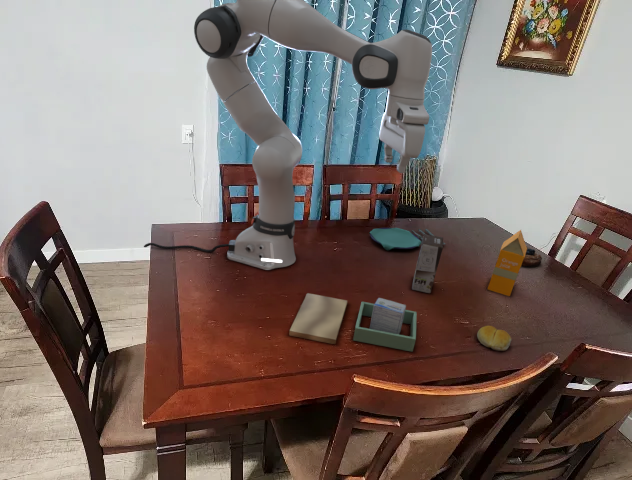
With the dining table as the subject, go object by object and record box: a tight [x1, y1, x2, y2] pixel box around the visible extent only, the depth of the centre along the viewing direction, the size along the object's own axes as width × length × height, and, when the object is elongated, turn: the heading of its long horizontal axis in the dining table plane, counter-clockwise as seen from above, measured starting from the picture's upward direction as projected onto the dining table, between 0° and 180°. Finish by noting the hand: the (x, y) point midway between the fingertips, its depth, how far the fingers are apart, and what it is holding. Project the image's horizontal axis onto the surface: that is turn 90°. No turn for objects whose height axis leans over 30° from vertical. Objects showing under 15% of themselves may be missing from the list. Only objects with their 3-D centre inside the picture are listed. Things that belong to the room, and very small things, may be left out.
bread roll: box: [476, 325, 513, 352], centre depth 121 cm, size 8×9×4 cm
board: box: [288, 292, 348, 345], centre depth 120 cm, size 12×20×2 cm, turn 172°
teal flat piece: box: [369, 227, 446, 251], centre depth 174 cm, size 20×30×2 cm, turn 113°
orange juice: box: [487, 229, 527, 297], centre depth 145 cm, size 8×9×20 cm
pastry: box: [521, 245, 543, 268], centre depth 172 cm, size 11×12×6 cm
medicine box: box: [369, 297, 407, 335], centre depth 117 cm, size 8×4×9 cm, turn 71°
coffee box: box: [411, 233, 444, 294], centre depth 141 cm, size 9×6×16 cm
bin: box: [352, 301, 418, 352], centre depth 118 cm, size 16×14×4 cm
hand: (394, 166), depth 115 cm, fingers open, 8 cm apart
